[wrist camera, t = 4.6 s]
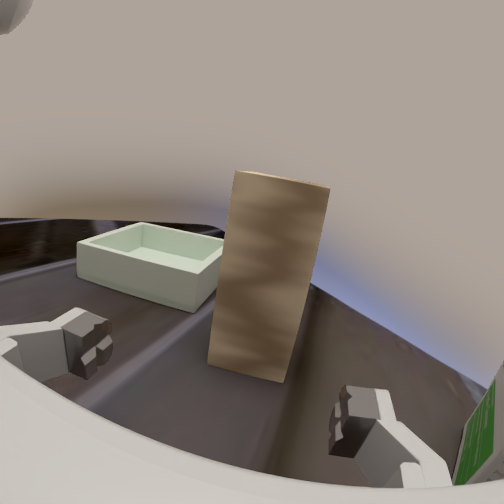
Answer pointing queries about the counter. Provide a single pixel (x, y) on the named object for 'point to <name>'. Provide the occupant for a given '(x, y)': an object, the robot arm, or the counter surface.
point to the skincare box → (483, 439)
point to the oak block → (265, 272)
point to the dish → (153, 264)
